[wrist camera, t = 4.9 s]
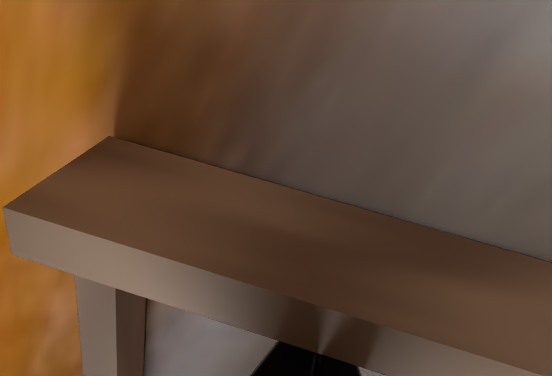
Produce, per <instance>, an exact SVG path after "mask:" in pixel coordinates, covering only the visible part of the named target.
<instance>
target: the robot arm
mask: <svg viewBox="0 0 552 376" xmlns="http://www.w3.org/2000/svg"><path fill="white" fill-rule="evenodd" d="M250 376H361V373H360V370H359V368H358V366H356V365H353V364H350V363H347V362H344V361H340V360H337V359H334V358H331V357H328V356H325V355H322V354H319V353H316V352H312V351H309V350H306V349H303V348H300V347H297V346H294V345H291V344H288V343H284V342H281V341H277V342H276V343H275V345H274V346H273V347H272V348H271V350H270V351H269V352H268V354H267V355H266V356H265V357H264V359H263V360H262V361H261V362H260V364H259V365H258V366H257V367H256V369H255V370H254V371H253V373H252V374H251V375H250Z"/></svg>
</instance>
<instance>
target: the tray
mask: <svg viewBox="0 0 552 376" xmlns="http://www.w3.org/2000/svg"><path fill="white" fill-rule="evenodd" d="M3 212H4V217H5V222H6V227H7V233H8V238H9V243H10V248H11V253H12V255H14V256H17V257H20V258H23V259H27V260H30V261H33V262H36V263H39V264H42V265H45V266H48V267H51V268H55V269H58V270H61V271H64V272H67V273H70V274H73V275H74V276H75V288H76V299H77V310H78V321H79V333H80V344H81V355H82V366H83V376H143V360H144V334H145V308H146V298H148V299H151V300H154V301H157V302H160V303H163V304H166V305H169V306H173V307H176V308H179V309H182V310H185V311H188V312H191V313H194V314H197V315H201V316H204V317H207V318H210V319H213V320H216V321H219V322H222V323H225V324H229V325H232V326H235V327H238V328H241V329H244V330H247V331H250V332H253V333H257V334H260V335H263V336H266V337H269V338H272V339H275V340H278V341H281V342H284V343H288V344H291V345H294V346H297V347H300V348H303V349H306V350H309V351H312V352H316V353H319V354H322V355H325V356H328V357H331V358H334V359H337V360H340V361H344V362H347V363H350V364H353V365H356V366H359V367H362V368H365V369H368V370H371V371H375V372H378V373H381V374H384V375H387V376H552V263H550V262H546V261H543V260H539V259H536V258H532V257H529V256H525V255H522V254H518V253H515V252H512V251H508V250H505V249H501V248H498V247H494V246H491V245H487V244H484V243H480V242H477V241H473V240H470V239H466V238H463V237H459V236H456V235H452V234H449V233H445V232H442V231H438V230H435V229H431V228H428V227H424V226H421V225H417V224H414V223H410V222H407V221H404V220H400V219H397V218H393V217H390V216H386V215H383V214H379V213H376V212H372V211H369V210H365V209H362V208H358V207H355V206H351V205H348V204H344V203H341V202H337V201H334V200H330V199H327V198H323V197H320V196H316V195H313V194H309V193H306V192H302V191H299V190H296V189H292V188H289V187H285V186H282V185H278V184H275V183H271V182H268V181H264V180H261V179H257V178H254V177H250V176H247V175H243V174H240V173H236V172H233V171H229V170H226V169H222V168H219V167H215V166H212V165H208V164H205V163H201V162H198V161H194V160H191V159H188V158H184V157H181V156H177V155H174V154H170V153H167V152H163V151H160V150H156V149H153V148H149V147H146V146H142V145H139V144H135V143H132V142H128V141H125V140H121V139H118V138H114V137H111V136H109V137H107V138H106V139H104V140H103V141H101V142H100V143H98V144H97V145H95V146H94V147H92V148H91V149H89V150H88V151H86V152H85V153H83V154H82V155H80V156H79V157H77V158H76V159H74V160H73V161H71V162H70V163H68V164H67V165H65V166H64V167H62V168H61V169H59V170H58V171H56V172H55V173H53V174H52V175H50V176H49V177H47V178H46V179H44V180H43V181H41V182H40V183H38V184H37V185H35V186H34V187H32V188H31V189H29V190H28V191H26V192H25V193H23V194H22V195H20V196H19V197H17V198H16V199H14V200H13V201H11V202H10V203H8V204H7V205H6V206H4V207H3Z"/></svg>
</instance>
